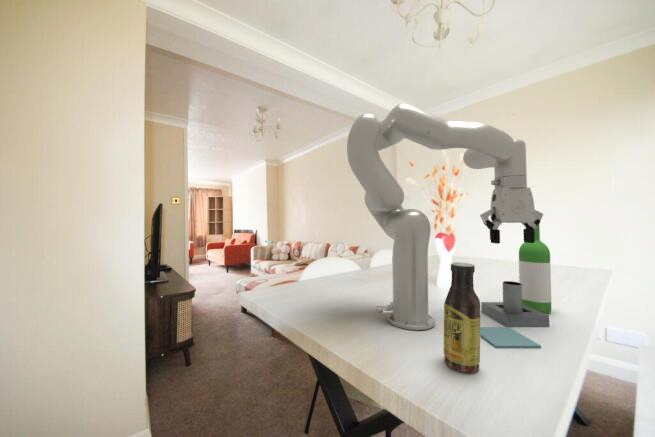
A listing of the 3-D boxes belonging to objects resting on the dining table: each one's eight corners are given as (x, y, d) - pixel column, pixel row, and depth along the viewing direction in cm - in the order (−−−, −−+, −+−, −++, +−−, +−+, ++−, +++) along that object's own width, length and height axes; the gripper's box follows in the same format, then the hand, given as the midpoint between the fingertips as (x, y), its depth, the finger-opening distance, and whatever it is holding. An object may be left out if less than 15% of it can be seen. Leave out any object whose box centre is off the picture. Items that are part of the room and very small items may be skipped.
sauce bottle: (437, 357, 52) (436, 261, 52) (466, 356, 52) (465, 260, 53) (456, 377, 45) (455, 266, 45) (489, 375, 46) (487, 265, 46)
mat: (495, 348, 55) (495, 345, 55) (470, 328, 65) (470, 327, 65) (541, 348, 55) (541, 345, 55) (509, 329, 65) (509, 327, 65)
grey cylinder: (526, 322, 70) (525, 285, 70) (507, 321, 70) (507, 284, 71) (517, 316, 74) (516, 281, 74) (500, 315, 75) (499, 280, 75)
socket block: (506, 326, 67) (506, 315, 67) (481, 311, 78) (481, 302, 78) (549, 326, 67) (549, 315, 67) (517, 311, 78) (517, 302, 78)
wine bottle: (526, 313, 76) (524, 215, 77) (515, 305, 84) (513, 215, 84) (557, 315, 74) (555, 214, 75) (542, 307, 82) (541, 215, 82)
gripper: (488, 182, 69) (490, 244, 69) (551, 181, 69) (553, 243, 69) (473, 186, 77) (474, 242, 77) (530, 185, 77) (532, 241, 76)
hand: (512, 242), depth 73 cm, fingers open, 9 cm apart
